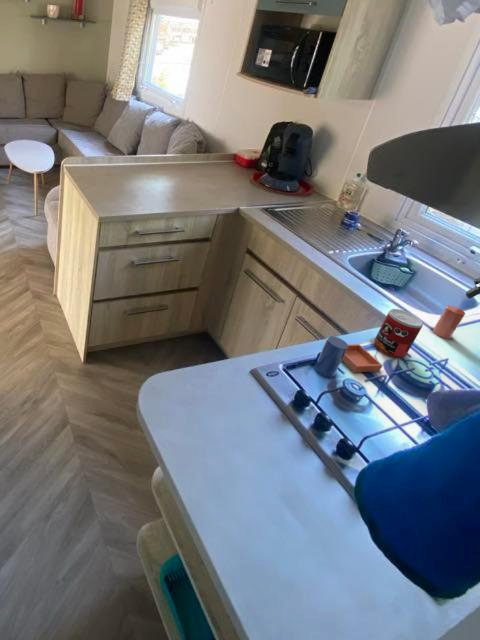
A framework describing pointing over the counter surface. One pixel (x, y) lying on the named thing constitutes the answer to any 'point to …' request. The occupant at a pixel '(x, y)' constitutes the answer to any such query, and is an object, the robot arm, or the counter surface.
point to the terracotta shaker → (448, 321)
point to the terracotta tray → (360, 359)
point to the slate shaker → (331, 356)
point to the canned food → (398, 333)
